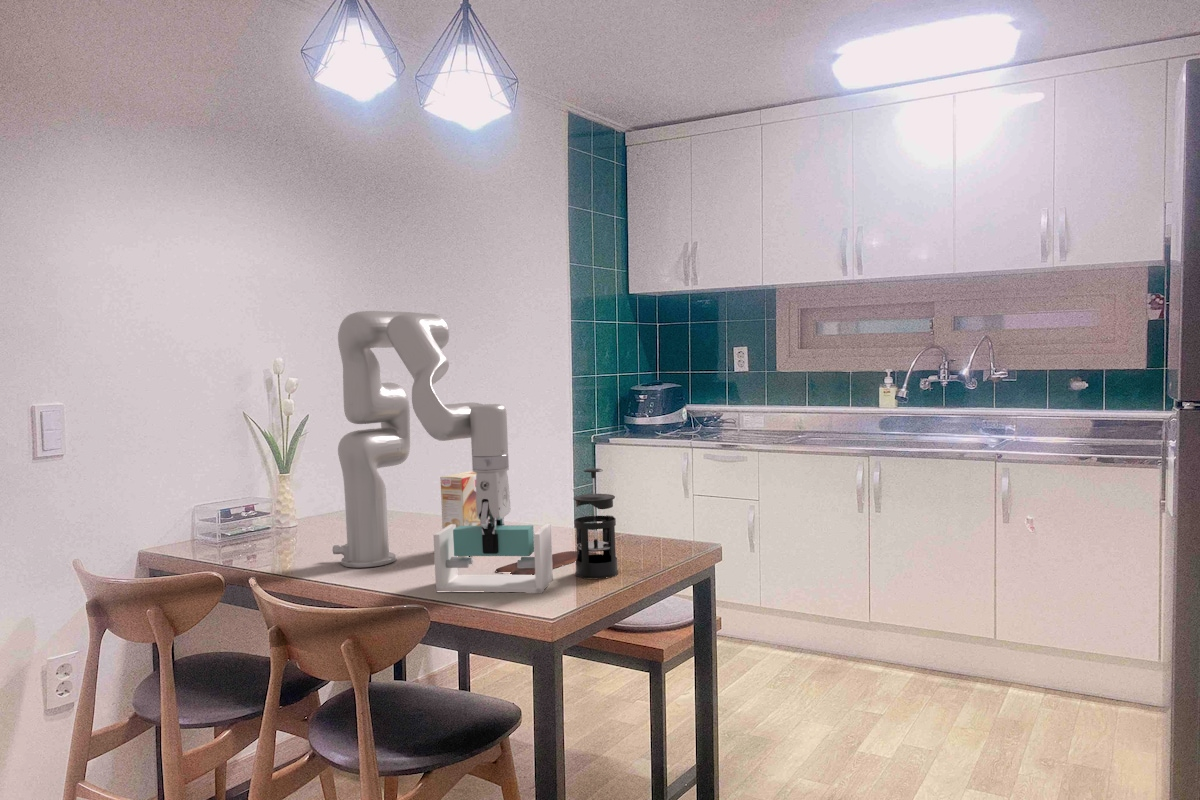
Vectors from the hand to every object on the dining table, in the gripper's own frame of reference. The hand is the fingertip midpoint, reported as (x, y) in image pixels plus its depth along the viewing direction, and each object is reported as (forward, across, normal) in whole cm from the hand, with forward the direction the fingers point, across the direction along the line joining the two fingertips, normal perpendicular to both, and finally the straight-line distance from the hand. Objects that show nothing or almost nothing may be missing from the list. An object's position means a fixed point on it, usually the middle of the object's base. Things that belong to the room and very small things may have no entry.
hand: (494, 549), depth 188 cm
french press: (+8, +11, -20) cm, 24 cm away
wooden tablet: (+9, +21, -7) cm, 23 cm away
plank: (+1, 0, 0) cm, 1 cm away
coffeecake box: (+8, +33, +15) cm, 37 cm away
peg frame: (+8, 0, 0) cm, 8 cm away
